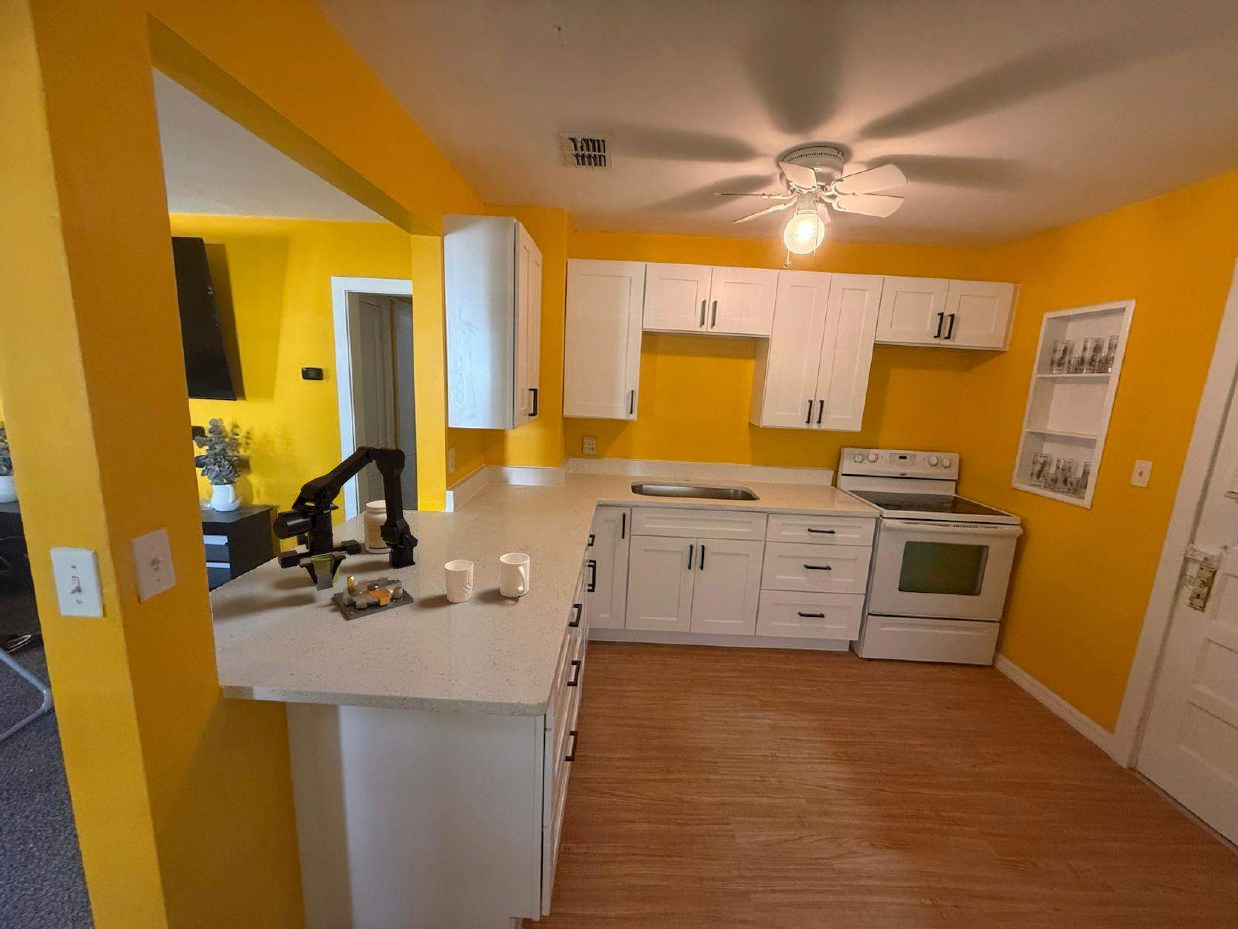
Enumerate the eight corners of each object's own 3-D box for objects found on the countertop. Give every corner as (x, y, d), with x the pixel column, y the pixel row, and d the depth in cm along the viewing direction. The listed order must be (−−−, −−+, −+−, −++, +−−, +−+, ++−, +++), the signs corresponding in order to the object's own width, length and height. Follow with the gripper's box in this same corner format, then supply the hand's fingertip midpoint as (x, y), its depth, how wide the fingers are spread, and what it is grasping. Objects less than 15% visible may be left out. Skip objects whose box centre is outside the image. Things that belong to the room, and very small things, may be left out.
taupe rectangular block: (328, 581, 130) (327, 568, 129) (333, 587, 127) (332, 573, 126) (313, 584, 128) (313, 571, 127) (318, 591, 124) (317, 577, 124)
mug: (509, 605, 130) (509, 570, 128) (495, 588, 139) (496, 555, 138) (537, 599, 134) (538, 564, 132) (522, 583, 144) (523, 551, 142)
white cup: (479, 594, 135) (479, 562, 133) (461, 606, 128) (461, 572, 126) (457, 589, 138) (456, 558, 136) (438, 600, 130) (438, 567, 129)
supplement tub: (409, 547, 168) (408, 503, 165) (377, 557, 158) (375, 510, 155) (390, 540, 175) (389, 497, 172) (358, 549, 164) (356, 503, 162)
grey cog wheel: (348, 586, 133) (347, 566, 132) (405, 581, 138) (404, 562, 137) (336, 610, 119) (335, 589, 118) (400, 604, 124) (399, 583, 123)
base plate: (393, 582, 140) (393, 579, 140) (413, 602, 129) (413, 598, 128) (333, 597, 129) (333, 594, 129) (349, 620, 117) (349, 616, 117)
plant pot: (327, 589, 133) (325, 561, 132) (299, 585, 135) (297, 557, 133) (351, 576, 142) (350, 550, 141) (325, 572, 144) (324, 546, 142)
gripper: (349, 515, 136) (352, 565, 139) (272, 527, 123) (276, 581, 126) (361, 525, 129) (363, 577, 131) (279, 538, 116) (284, 595, 118)
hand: (323, 582), depth 127 cm, fingers closed on taupe rectangular block, 3 cm apart
